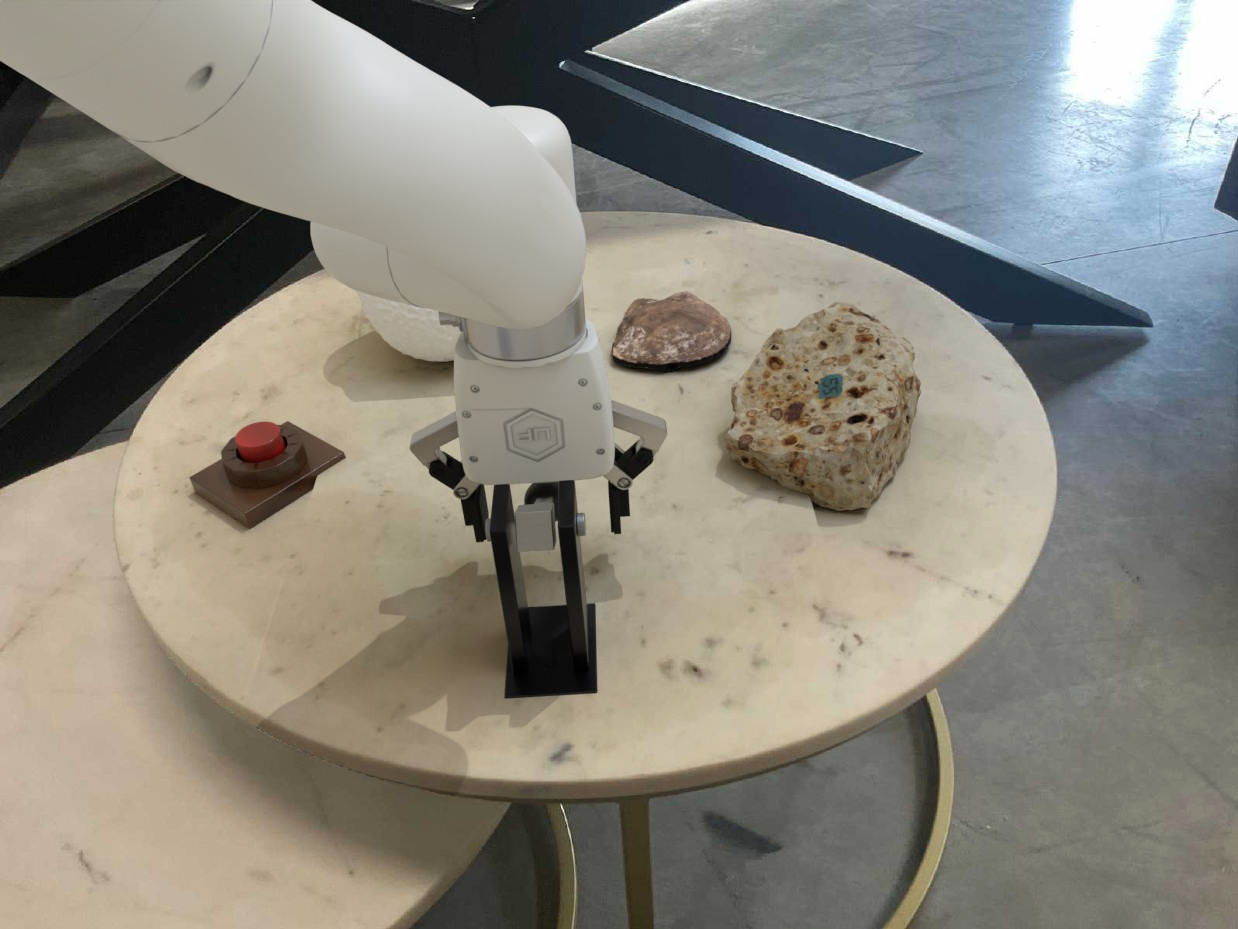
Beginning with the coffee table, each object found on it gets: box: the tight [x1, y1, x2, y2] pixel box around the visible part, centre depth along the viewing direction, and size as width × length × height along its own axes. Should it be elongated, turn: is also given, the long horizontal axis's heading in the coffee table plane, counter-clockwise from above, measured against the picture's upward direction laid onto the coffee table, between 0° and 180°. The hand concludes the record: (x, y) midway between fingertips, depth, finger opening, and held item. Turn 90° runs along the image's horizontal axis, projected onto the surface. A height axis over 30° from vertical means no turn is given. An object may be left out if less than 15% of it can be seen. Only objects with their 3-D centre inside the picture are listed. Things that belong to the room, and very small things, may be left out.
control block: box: [189, 420, 346, 530], centre depth 86 cm, size 10×8×4 cm
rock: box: [723, 300, 922, 512], centre depth 87 cm, size 21×14×10 cm
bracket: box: [485, 480, 598, 700], centre depth 66 cm, size 8×6×14 cm
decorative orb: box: [310, 252, 462, 363], centre depth 99 cm, size 20×18×16 cm
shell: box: [611, 290, 732, 373], centre depth 101 cm, size 12×13×4 cm
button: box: [234, 421, 285, 463], centre depth 85 cm, size 4×4×2 cm
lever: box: [514, 482, 559, 553], centre depth 68 cm, size 13×3×3 cm
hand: (549, 525), depth 74 cm, fingers open, 9 cm apart
